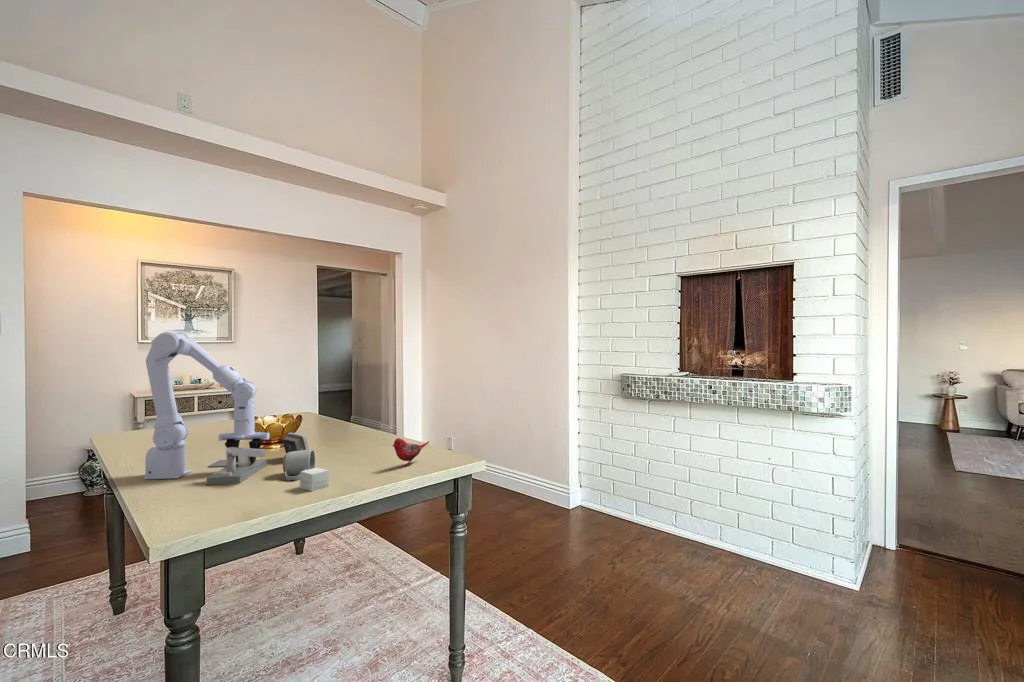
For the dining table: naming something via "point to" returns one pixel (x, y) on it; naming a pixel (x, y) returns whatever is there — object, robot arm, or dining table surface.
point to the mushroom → (244, 460)
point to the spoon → (245, 452)
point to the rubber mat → (219, 464)
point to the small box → (314, 479)
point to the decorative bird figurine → (407, 450)
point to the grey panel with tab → (235, 472)
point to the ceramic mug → (298, 463)
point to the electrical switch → (295, 442)
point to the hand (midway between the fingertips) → (244, 462)
